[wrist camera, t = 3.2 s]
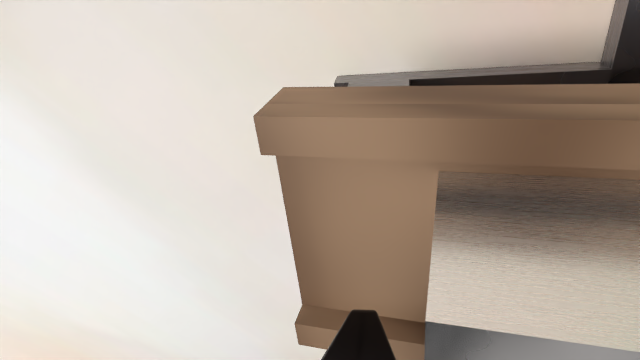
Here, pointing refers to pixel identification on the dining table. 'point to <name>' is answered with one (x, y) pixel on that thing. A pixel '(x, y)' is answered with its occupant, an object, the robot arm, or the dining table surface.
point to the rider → (534, 268)
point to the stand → (615, 67)
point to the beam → (417, 179)
